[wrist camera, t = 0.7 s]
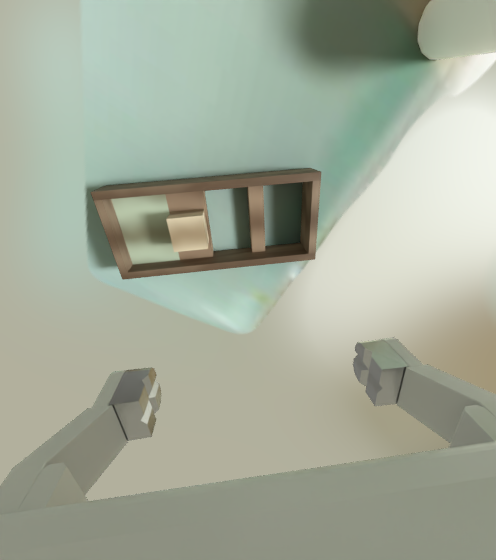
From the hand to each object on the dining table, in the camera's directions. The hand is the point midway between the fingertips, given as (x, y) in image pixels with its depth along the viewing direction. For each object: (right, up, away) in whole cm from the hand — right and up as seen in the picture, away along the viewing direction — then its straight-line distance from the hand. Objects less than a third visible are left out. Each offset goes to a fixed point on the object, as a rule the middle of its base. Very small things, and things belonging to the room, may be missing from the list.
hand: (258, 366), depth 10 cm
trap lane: (-5, +12, +27) cm, 30 cm away
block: (-9, +11, +25) cm, 29 cm away
